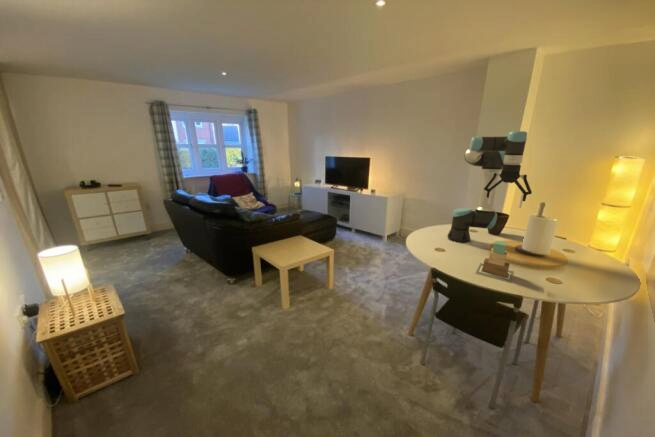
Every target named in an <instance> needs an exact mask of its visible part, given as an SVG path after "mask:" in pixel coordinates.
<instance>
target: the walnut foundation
mask: <svg viewBox="0 0 655 437" xmlns="http://www.w3.org/2000/svg"><path fill="white" fill-rule="evenodd" d="M488 261H489V258H488V257H485V259H484V261H483V263H482V264H483V270H482V271H483V272H487V273H491V274H495V275H498V276H502V277H506V278H507V274H508V270H510V269H509V268H510V262H506V261H505V265H504V266H500V265H496V264H492V263H488Z"/></svg>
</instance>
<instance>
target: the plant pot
mask: <svg viewBox="0 0 655 437" xmlns="http://www.w3.org/2000/svg"><path fill="white" fill-rule="evenodd" d="M495 213H497V220H496V223H495V225H494V226H493V228H491V229H487V233H488V234H490V235H492V236H500V235H501V233H502V231H503V230H504V228H505V227H506V225H507V224H508V221H509V218H510V214H508V213H505V212H499V211H495Z"/></svg>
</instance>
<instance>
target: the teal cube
mask: <svg viewBox="0 0 655 437" xmlns="http://www.w3.org/2000/svg"><path fill="white" fill-rule="evenodd" d="M507 245H508V244H507V242H504V241H499V240H495V241H494V244H493V247H492V248H493V252H494V253H498V254H503V255H504V253H505V251H506V249H507Z"/></svg>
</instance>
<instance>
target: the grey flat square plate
mask: <svg viewBox="0 0 655 437" xmlns="http://www.w3.org/2000/svg"><path fill="white" fill-rule="evenodd" d="M483 264H484V263H482V262H481V263H479V265H478V267H477V269H476V271H475V272H474V274H476V275H478V276H483V277H486V278H490V279H494V280H498V281H501V282H505V283H509V284H512V283H513V277H514V274H515V271H514V270H511V269H508V274H507V278H506V277H502V276H498V275H495V274H491V273H487V272H483V271H482V270H483Z"/></svg>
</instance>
